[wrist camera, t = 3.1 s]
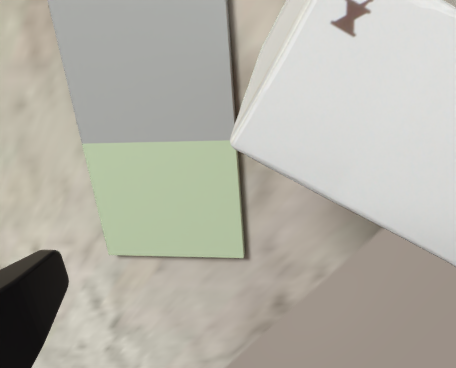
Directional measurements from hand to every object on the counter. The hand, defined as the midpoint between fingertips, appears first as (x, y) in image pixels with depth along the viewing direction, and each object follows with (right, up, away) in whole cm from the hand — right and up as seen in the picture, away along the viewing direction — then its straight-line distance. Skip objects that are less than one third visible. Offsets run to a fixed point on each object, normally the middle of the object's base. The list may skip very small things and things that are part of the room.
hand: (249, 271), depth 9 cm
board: (-4, +4, +12) cm, 14 cm away
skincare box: (+5, +8, +9) cm, 13 cm away
